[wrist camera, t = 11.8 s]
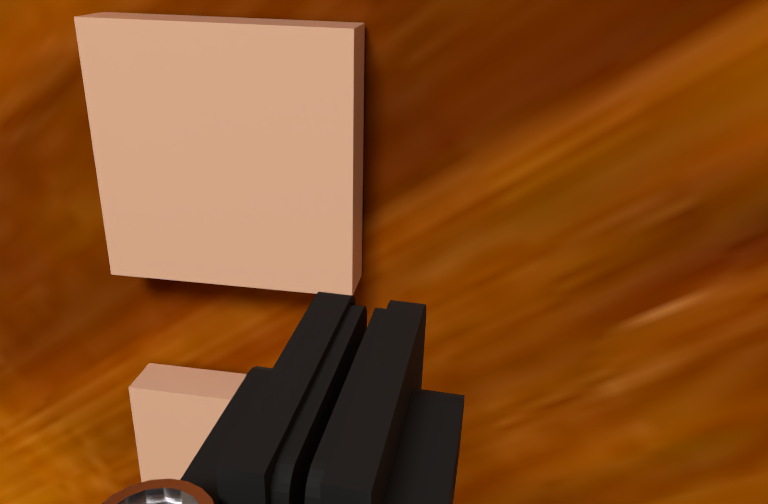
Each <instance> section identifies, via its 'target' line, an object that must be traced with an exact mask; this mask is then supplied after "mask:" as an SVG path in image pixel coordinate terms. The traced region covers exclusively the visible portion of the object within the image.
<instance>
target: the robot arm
mask: <svg viewBox="0 0 768 504" xmlns="http://www.w3.org/2000/svg"><path fill="white" fill-rule="evenodd" d="M425 325H426V304H418V303H410V302H402V301H393V300H390V302H389V304H388V307H387V309H383V308H375V310H374V312H373V315H372V317H371V319H370V322H369V324H368V327H367V309H366V306H358V305H356V303H355V298H354V296H352V295H344V294H336V293H327V292H318V293H317V294H316V295H315V297H314V299H313V301H312V302H311V304H310V306H309V307H308V309H307V311H306V313H305V314H304V316H303V318H302V319H301V321H300V323H299V324H298V326H297V328H296V330H295V331H294V333H293V335H292V336H291V338H290V340H289V342H288V343H287V345H286V347H285V348H284V350H283V352H282V354H281V355H280V357H279V359H278V360H277V362H276V364H275V365H274V367H273V368H266V367H258V366H256V367H253V368H252V369H251V370H250V371H249V372H248V374H247V375H246V377H245V378H244V380H243V381H242V383H241V385H240V386H239V388H238V389H237V391H236V393H235V394H234V396H233V397H232V399H231V400H230V402H229V404H228V405H227V407H226V408H225V410H224V411H223V413H222V415H221V416H220V418H219V419H218V421H217V422H216V424H215V426H214V427H213V429H212V430H211V432H210V433H209V435H208V437H207V438H206V440H205V441H204V443H203V445H202V446H201V448H200V449H199V451H198V452H197V454H196V456H195V457H194V459H193V460H192V462H191V463H190V465H189V467H188V468H187V470H186V471H185V473H184V474H183V476H182V478H181V479H180V480H176V479H155V480H148V481H145V482H141V483H138V484H134V485H131V486H129V487H127V488H125V489H123V490H121V491H119V492H117V493H115V494H113V495H112V496H111V497H109V498H108V499H107V500H106V501H105V502H103V503H102V504H453V498H454V490H455V483H456V474H457V466H458V457H459V448H460V439H461V429H462V419H463V408H464V395H457V394H450V393H443V392H436V391H429V390H422V389H421V385H422V370H423V355H424V340H425Z"/></svg>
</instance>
